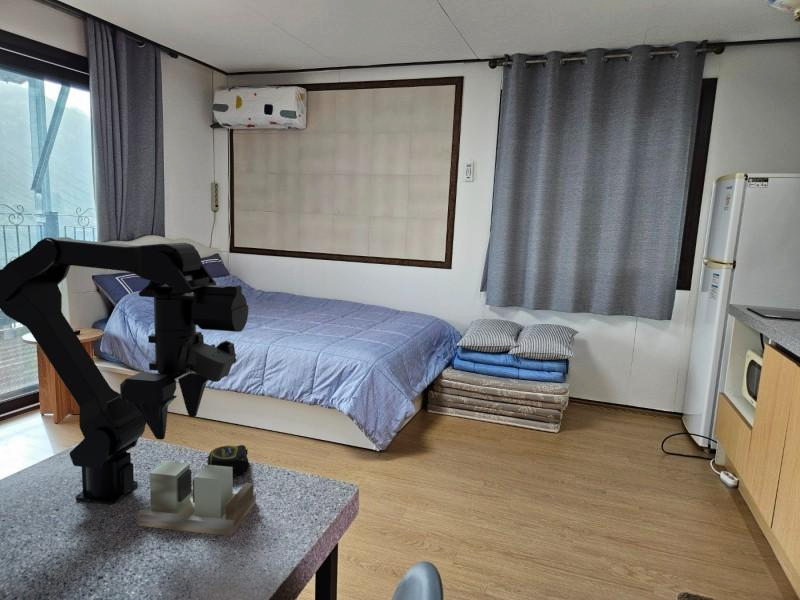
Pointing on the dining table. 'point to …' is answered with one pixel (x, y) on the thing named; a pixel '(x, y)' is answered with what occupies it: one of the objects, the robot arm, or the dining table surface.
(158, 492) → the open tray
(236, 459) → the tape measure
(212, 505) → the block
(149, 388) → the robot arm
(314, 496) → the dining table surface
